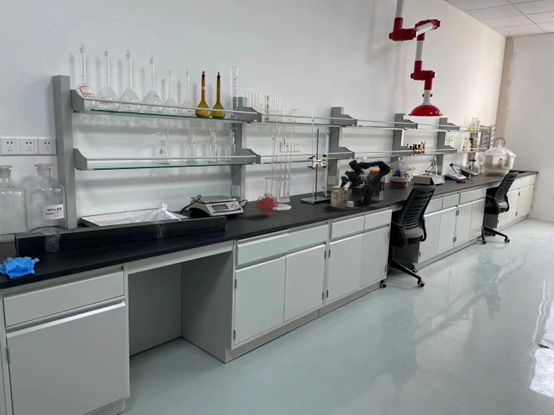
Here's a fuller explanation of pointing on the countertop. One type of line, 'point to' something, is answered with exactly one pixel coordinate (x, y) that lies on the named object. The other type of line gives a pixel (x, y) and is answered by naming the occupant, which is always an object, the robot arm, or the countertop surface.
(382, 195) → the supplement tub
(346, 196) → the stack of blocks
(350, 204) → the grey cube
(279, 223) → the countertop surface
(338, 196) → the beech block
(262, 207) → the virus model
